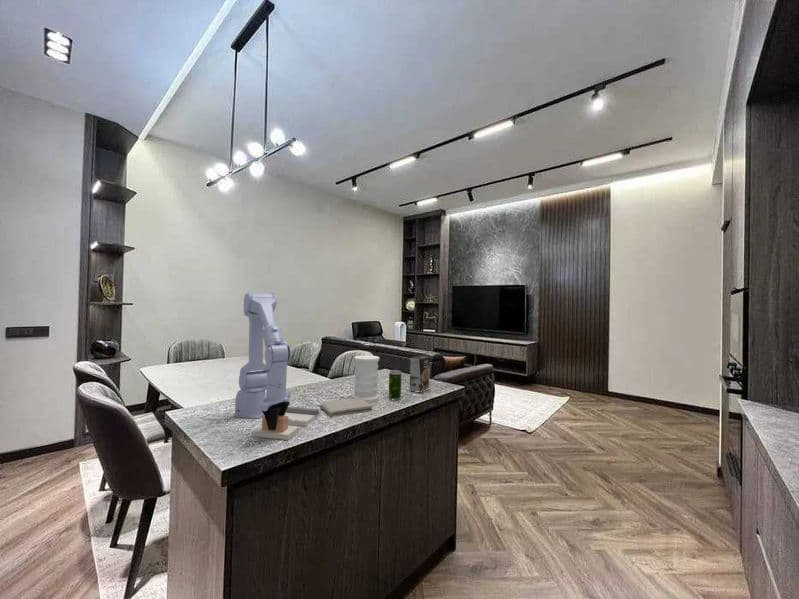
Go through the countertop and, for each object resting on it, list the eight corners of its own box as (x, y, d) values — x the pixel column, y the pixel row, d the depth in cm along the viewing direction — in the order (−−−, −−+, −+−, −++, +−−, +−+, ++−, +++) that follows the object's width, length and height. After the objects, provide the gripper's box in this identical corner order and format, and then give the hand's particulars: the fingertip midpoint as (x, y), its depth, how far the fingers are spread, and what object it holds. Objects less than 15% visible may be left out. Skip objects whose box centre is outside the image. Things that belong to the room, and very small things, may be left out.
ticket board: (271, 422, 115) (271, 414, 115) (289, 412, 127) (289, 403, 127) (307, 426, 113) (307, 417, 113) (321, 415, 125) (322, 406, 125)
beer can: (397, 396, 153) (398, 369, 153) (402, 399, 148) (403, 371, 148) (386, 397, 151) (387, 370, 151) (391, 400, 146) (391, 372, 146)
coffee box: (420, 393, 159) (421, 358, 159) (408, 391, 162) (409, 357, 163) (429, 389, 167) (430, 356, 167) (418, 387, 170) (419, 355, 170)
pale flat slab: (251, 436, 103) (251, 418, 103) (264, 428, 110) (264, 411, 110) (288, 440, 101) (288, 421, 101) (299, 431, 108) (299, 414, 108)
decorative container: (346, 398, 147) (347, 356, 147) (366, 393, 156) (367, 354, 156) (365, 404, 139) (366, 360, 140) (384, 398, 148) (385, 357, 148)
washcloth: (374, 411, 132) (374, 403, 132) (330, 418, 123) (330, 410, 123) (361, 403, 142) (361, 396, 142) (319, 409, 133) (319, 401, 133)
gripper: (276, 390, 97) (274, 437, 97) (299, 379, 112) (298, 420, 112) (253, 388, 99) (251, 435, 98) (279, 377, 113) (278, 418, 113)
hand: (275, 427), depth 105 cm, fingers closed on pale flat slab, 3 cm apart
